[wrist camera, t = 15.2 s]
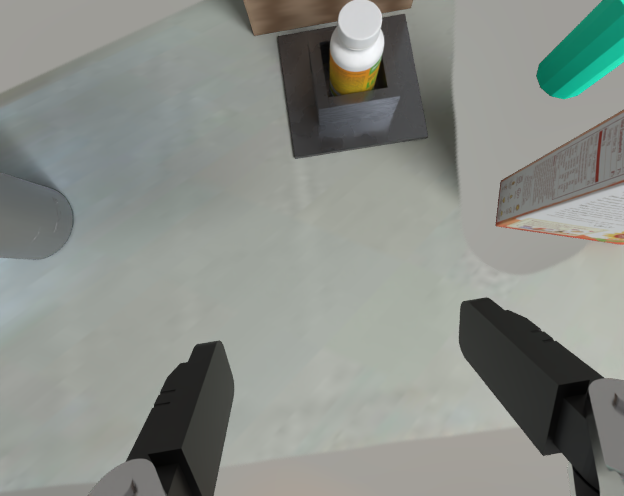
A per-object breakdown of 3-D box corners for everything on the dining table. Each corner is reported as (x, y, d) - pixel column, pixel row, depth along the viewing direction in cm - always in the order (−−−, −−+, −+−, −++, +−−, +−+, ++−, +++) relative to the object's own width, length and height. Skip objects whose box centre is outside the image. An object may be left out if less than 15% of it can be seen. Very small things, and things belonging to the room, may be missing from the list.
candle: (550, 43, 36) (661, -72, 24) (597, 65, 35) (735, -42, 23) (527, 84, 36) (627, -12, 24) (574, 107, 35) (701, 21, 23)
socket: (295, 158, 36) (291, 144, 32) (278, 38, 38) (272, 11, 34) (427, 137, 36) (439, 121, 32) (404, 16, 37) (412, -14, 33)
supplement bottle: (369, 110, 36) (384, 51, 26) (325, 103, 36) (324, 42, 27) (377, 69, 36) (395, -5, 27) (334, 62, 37) (336, -14, 27)
